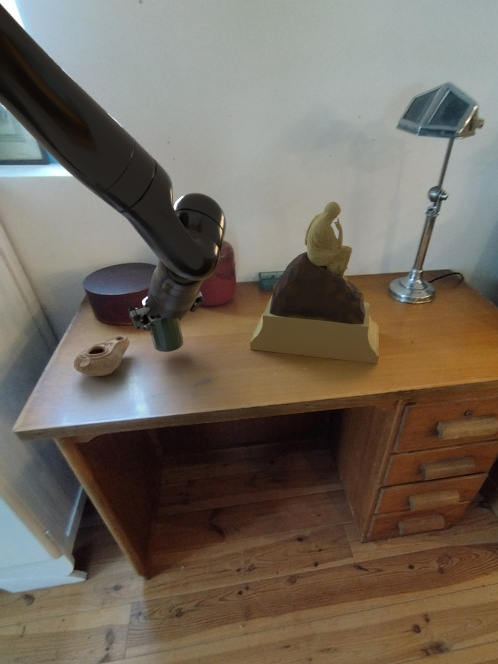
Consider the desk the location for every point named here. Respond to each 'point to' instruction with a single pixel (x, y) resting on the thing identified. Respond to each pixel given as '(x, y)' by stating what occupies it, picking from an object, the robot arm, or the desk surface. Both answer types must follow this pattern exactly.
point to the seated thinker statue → (319, 302)
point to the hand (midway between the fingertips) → (160, 321)
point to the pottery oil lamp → (102, 357)
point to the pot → (166, 333)
